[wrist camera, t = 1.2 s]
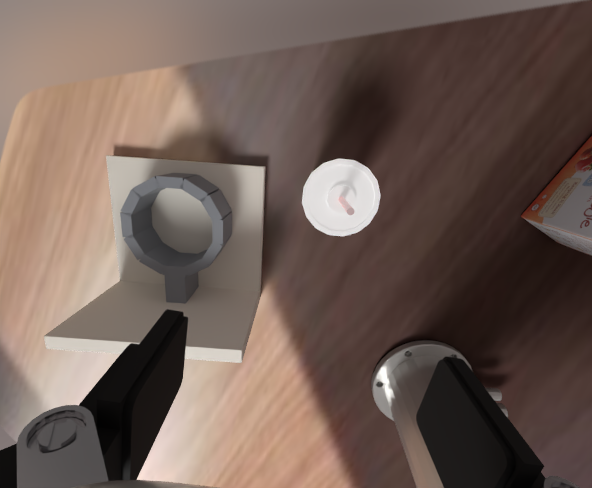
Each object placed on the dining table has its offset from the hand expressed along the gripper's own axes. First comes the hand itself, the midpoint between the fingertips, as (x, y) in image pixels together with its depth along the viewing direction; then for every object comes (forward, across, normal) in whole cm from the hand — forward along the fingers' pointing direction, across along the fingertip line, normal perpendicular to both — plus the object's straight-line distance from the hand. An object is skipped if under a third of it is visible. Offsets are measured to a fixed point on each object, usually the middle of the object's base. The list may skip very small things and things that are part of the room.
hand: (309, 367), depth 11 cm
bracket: (+24, +12, +4) cm, 27 cm away
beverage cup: (+24, -2, -4) cm, 24 cm away
